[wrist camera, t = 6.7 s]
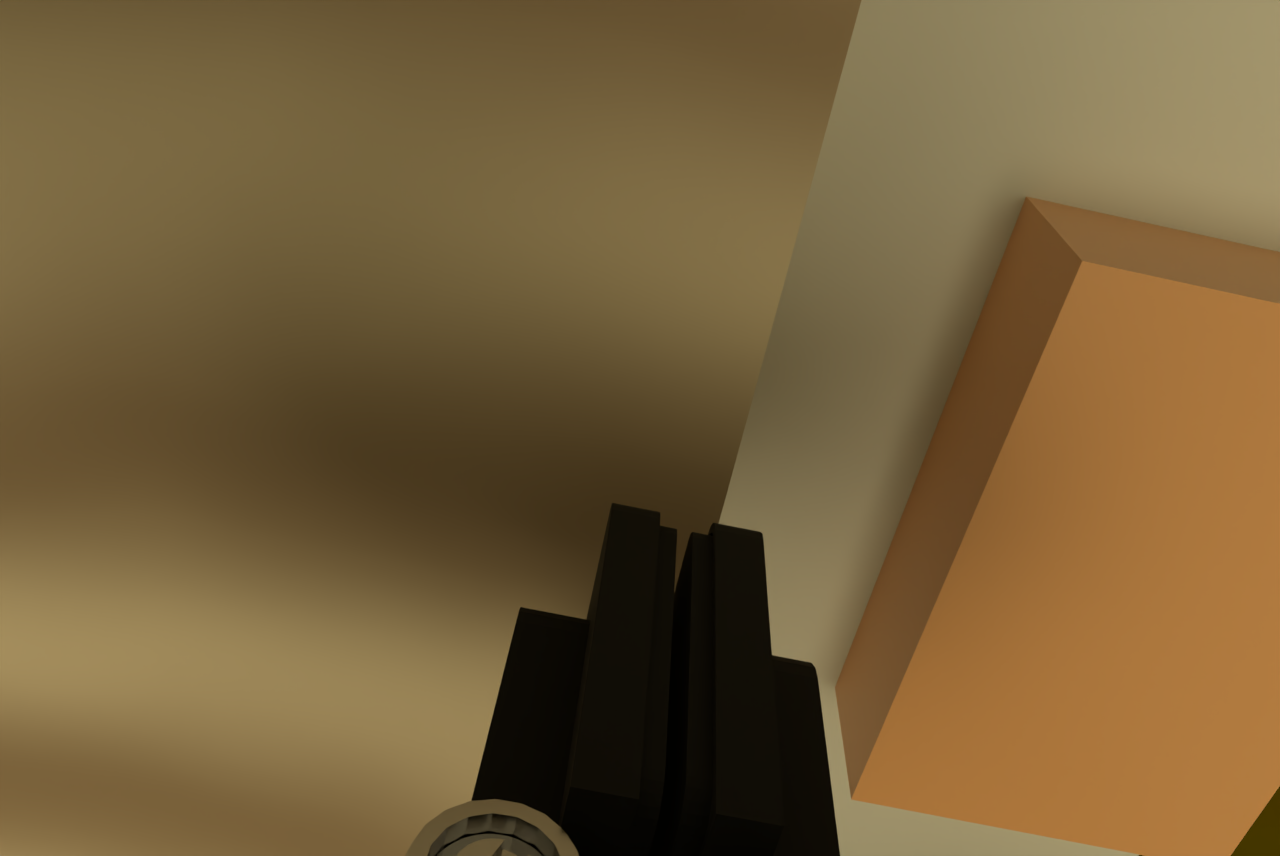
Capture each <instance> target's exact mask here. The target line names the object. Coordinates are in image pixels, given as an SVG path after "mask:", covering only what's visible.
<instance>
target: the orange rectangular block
mask: <svg viewBox="0 0 1280 856" xmlns="http://www.w3.org/2000/svg"><path fill="white" fill-rule="evenodd" d="M835 691H836V698H837V705H838V712H839V719H840V726H841V733H842V740H843V747H844V754H845V760H846V767H847V774H848V781H849V788H850V795H851V800H856V801H862V802H867V803H872V804H877V805H883V806H888V807H893V808H898V809H904V810H909V811H914V812H919V813H924V814H930V815H935V816H940V817H945V818H951V819H956V820H961V821H966V822H972V823H977V824H982V825H987V826H993V827H998V828H1003V829H1008V830H1014V831H1019V832H1024V833H1029V834H1034V835H1040V836H1045V837H1050V838H1055V839H1061V840H1066V841H1071V842H1076V843H1082V844H1087V845H1092V846H1097V847H1103V848H1108V849H1113V850H1118V851H1124V852H1129V853H1134V854H1139V855H1144V856H1230V855H1231V854H1232V853H1233V851H1234V850H1235V848H1236V847H1237V846H1238V844H1239V843H1240V841H1241V840H1242V838H1243V837H1244V836H1245V834H1246V833H1247V831H1248V830H1249V829H1250V827H1251V826H1252V824H1253V823H1254V821H1255V820H1256V819H1257V817H1258V816H1259V814H1260V813H1261V812H1262V810H1263V809H1264V807H1265V806H1266V804H1267V803H1268V802H1269V800H1270V799H1271V797H1272V796H1273V795H1274V793H1275V792H1276V790H1277V789H1278V787H1279V786H1280V252H1277V251H1273V250H1268V249H1264V248H1259V247H1254V246H1250V245H1245V244H1241V243H1236V242H1232V241H1227V240H1223V239H1218V238H1213V237H1209V236H1204V235H1200V234H1195V233H1191V232H1186V231H1182V230H1177V229H1172V228H1168V227H1163V226H1159V225H1154V224H1150V223H1145V222H1141V221H1136V220H1131V219H1127V218H1122V217H1118V216H1113V215H1109V214H1104V213H1100V212H1095V211H1090V210H1086V209H1081V208H1077V207H1072V206H1068V205H1063V204H1059V203H1054V202H1049V201H1045V200H1040V199H1036V198H1031V197H1027V196H1026V198H1025V201H1024V203H1023V206H1022V208H1021V211H1020V213H1019V216H1018V219H1017V221H1016V224H1015V226H1014V229H1013V231H1012V234H1011V237H1010V239H1009V242H1008V244H1007V247H1006V249H1005V252H1004V255H1003V257H1002V260H1001V262H1000V265H999V267H998V270H997V273H996V275H995V278H994V280H993V283H992V285H991V288H990V291H989V293H988V296H987V298H986V301H985V303H984V306H983V308H982V311H981V314H980V316H979V319H978V321H977V324H976V326H975V329H974V332H973V334H972V337H971V339H970V342H969V344H968V347H967V350H966V352H965V355H964V357H963V360H962V362H961V365H960V368H959V370H958V373H957V375H956V378H955V380H954V383H953V386H952V388H951V391H950V393H949V396H948V398H947V401H946V403H945V406H944V409H943V411H942V414H941V416H940V419H939V421H938V424H937V427H936V429H935V432H934V434H933V437H932V439H931V442H930V445H929V447H928V450H927V452H926V455H925V457H924V460H923V463H922V465H921V468H920V470H919V473H918V475H917V478H916V481H915V483H914V486H913V488H912V491H911V493H910V496H909V499H908V501H907V504H906V506H905V509H904V511H903V514H902V516H901V519H900V522H899V524H898V527H897V529H896V532H895V534H894V537H893V540H892V542H891V545H890V547H889V550H888V552H887V555H886V558H885V560H884V563H883V565H882V568H881V570H880V573H879V576H878V578H877V581H876V583H875V586H874V588H873V591H872V594H871V596H870V599H869V601H868V604H867V606H866V609H865V611H864V614H863V617H862V619H861V622H860V624H859V627H858V629H857V632H856V635H855V637H854V640H853V642H852V645H851V647H850V650H849V653H848V655H847V658H846V660H845V663H844V665H843V668H842V671H841V673H840V676H839V678H838V681H837V683H836V686H835Z"/></svg>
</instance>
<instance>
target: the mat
mask: <svg viewBox="0 0 1280 856" xmlns="http://www.w3.org/2000/svg"><path fill="white" fill-rule="evenodd" d="M1026 196H1027V197H1031V198H1036V199H1040V200H1045V201H1049V202H1054V203H1059V204H1063V205H1068V206H1072V207H1077V208H1081V209H1086V210H1090V211H1095V212H1100V213H1104V214H1109V215H1113V216H1118V217H1122V218H1127V219H1131V220H1136V221H1141V222H1145V223H1150V224H1154V225H1159V226H1163V227H1168V228H1172V229H1177V230H1182V231H1186V232H1191V233H1195V234H1200V235H1204V236H1209V237H1213V238H1218V239H1223V240H1227V241H1232V242H1236V243H1241V244H1245V245H1250V246H1254V247H1259V248H1264V249H1268V250H1273V251H1277V252H1280V0H861V4H860V8H859V11H858V15H857V19H856V22H855V26H854V30H853V33H852V37H851V41H850V44H849V48H848V51H847V55H846V59H845V62H844V66H843V70H842V73H841V77H840V81H839V84H838V88H837V92H836V95H835V99H834V103H833V106H832V110H831V114H830V117H829V121H828V125H827V128H826V132H825V136H824V139H823V143H822V147H821V150H820V154H819V158H818V161H817V165H816V169H815V172H814V176H813V180H812V183H811V187H810V191H809V194H808V198H807V202H806V205H805V209H804V213H803V216H802V220H801V224H800V227H799V231H798V235H797V238H796V242H795V246H794V249H793V253H792V257H791V260H790V264H789V268H788V271H787V275H786V278H785V282H784V286H783V289H782V293H781V297H780V300H779V304H778V308H777V311H776V315H775V319H774V322H773V326H772V330H771V333H770V337H769V341H768V344H767V348H766V352H765V355H764V359H763V363H762V366H761V370H760V374H759V377H758V381H757V385H756V388H755V392H754V396H753V399H752V403H751V407H750V410H749V414H748V418H747V421H746V425H745V429H744V432H743V436H742V440H741V443H740V447H739V451H738V454H737V458H736V462H735V465H734V469H733V473H732V476H731V480H730V484H729V487H728V491H727V495H726V498H725V502H724V506H723V509H722V513H721V516H720V520H719V524H723V525H728V526H733V527H738V528H743V529H748V530H754V531H759V532H761V533H762V534H763V540H764V553H765V567H766V581H767V595H768V608H769V622H770V636H771V650H772V655H774V656H779V657H784V658H790V659H795V660H800V661H805V662H810V663H812V664H813V665H814V666H815V668H816V672H817V677H818V683H819V691H820V699H821V707H822V715H823V723H824V731H825V739H826V747H827V755H828V763H829V771H830V779H831V787H832V795H833V803H834V811H835V819H836V827H837V835H838V843H839V851H840V856H1138V855H1139V854H1134V853H1129V852H1124V851H1118V850H1113V849H1108V848H1103V847H1097V846H1092V845H1087V844H1082V843H1076V842H1071V841H1066V840H1061V839H1055V838H1050V837H1045V836H1040V835H1034V834H1029V833H1024V832H1019V831H1014V830H1008V829H1003V828H998V827H993V826H987V825H982V824H977V823H972V822H966V821H961V820H956V819H951V818H945V817H940V816H935V815H930V814H924V813H919V812H914V811H909V810H904V809H898V808H893V807H888V806H883V805H877V804H872V803H867V802H862V801H856V800H851V795H850V788H849V781H848V774H847V767H846V760H845V754H844V747H843V740H842V733H841V726H840V719H839V712H838V705H837V698H836V691H835V686H836V683H837V681H838V678H839V676H840V673H841V671H842V668H843V665H844V663H845V660H846V658H847V655H848V653H849V650H850V647H851V645H852V642H853V640H854V637H855V635H856V632H857V629H858V627H859V624H860V622H861V619H862V617H863V614H864V611H865V609H866V606H867V604H868V601H869V599H870V596H871V594H872V591H873V588H874V586H875V583H876V581H877V578H878V576H879V573H880V570H881V568H882V565H883V563H884V560H885V558H886V555H887V552H888V550H889V547H890V545H891V542H892V540H893V537H894V534H895V532H896V529H897V527H898V524H899V522H900V519H901V516H902V514H903V511H904V509H905V506H906V504H907V501H908V499H909V496H910V493H911V491H912V488H913V486H914V483H915V481H916V478H917V475H918V473H919V470H920V468H921V465H922V463H923V460H924V457H925V455H926V452H927V450H928V447H929V445H930V442H931V439H932V437H933V434H934V432H935V429H936V427H937V424H938V421H939V419H940V416H941V414H942V411H943V409H944V406H945V403H946V401H947V398H948V396H949V393H950V391H951V388H952V386H953V383H954V380H955V378H956V375H957V373H958V370H959V368H960V365H961V362H962V360H963V357H964V355H965V352H966V350H967V347H968V344H969V342H970V339H971V337H972V334H973V332H974V329H975V326H976V324H977V321H978V319H979V316H980V314H981V311H982V308H983V306H984V303H985V301H986V298H987V296H988V293H989V291H990V288H991V285H992V283H993V280H994V278H995V275H996V273H997V270H998V267H999V265H1000V262H1001V260H1002V257H1003V255H1004V252H1005V249H1006V247H1007V244H1008V242H1009V239H1010V237H1011V234H1012V231H1013V229H1014V226H1015V224H1016V221H1017V219H1018V216H1019V213H1020V211H1021V208H1022V206H1023V203H1024V201H1025V198H1026Z"/></svg>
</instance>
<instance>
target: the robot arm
mask: <svg viewBox="0 0 1280 856" xmlns="http://www.w3.org/2000/svg"><path fill="white" fill-rule="evenodd" d="M676 547H677V529H675V528H670V527H665V526H660V512H657V511H652V510H647V509H642V508H636V507H631V506H626V505H621V504H616V503H612V505H611V508H610V513H609V517H608V522H607V526H606V531H605V535H604V540H603V545H602V549H601V554H600V558H599V563H598V568H597V572H596V577H595V582H594V586H593V591H592V595H591V600H590V605H589V609H588V614H587V618H586V619H581V618H576V617H570V616H565V615H560V614H555V613H549V612H544V611H539V610H534V609H529V608H523V607H520V609H519V613H518V616H517V620H516V624H515V628H514V632H513V636H512V640H511V644H510V648H509V652H508V656H507V660H506V664H505V668H504V672H503V676H502V680H501V684H500V688H499V692H498V696H497V700H496V704H495V708H494V712H493V716H492V720H491V724H490V728H489V732H488V736H487V740H486V744H485V748H484V752H483V756H482V760H481V764H480V768H479V772H478V776H477V780H476V784H475V788H474V792H473V796H472V800H471V801H469V802H466V803H463V804H460V805H458V806H455V807H452V808H449V809H446V810H445V811H443V812H442V813H441V814H439V815H438V816H436V817H435V818H434V819H432V820H431V821H429V822H428V823H427V824H425V826H424V827H423V828H422V830H421V831H420V833H419V834H418V835H417V837H416V838H415V839H414V841H413V842H412V843H411V845H410V847H409V849H408V851H407V853H406V855H405V856H840V851H839V843H838V835H837V827H836V819H835V811H834V803H833V795H832V787H831V779H830V771H829V763H828V755H827V747H826V739H825V731H824V723H823V715H822V707H821V699H820V691H819V683H818V677H817V672H816V668H815V666H814V665H813V664H812V663H810V662H805V661H800V660H795V659H790V658H784V657H779V656H774V655H772V650H771V636H770V622H769V608H768V595H767V581H766V567H765V553H764V540H763V534H762V533H761V532H759V531H754V530H748V529H743V528H738V527H733V526H728V525H723V524H718V523H713V524H712V525H711V527H710V529H709V532H708V535H706V534H701V533H696V532H692V533H691V534H690V537H689V540H688V543H687V547H686V551H685V554H684V558H683V562H682V566H681V570H680V573H679V577H678V581H677V585H676V588H675V592H674V586H675V567H676Z"/></svg>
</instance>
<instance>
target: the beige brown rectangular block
mask: <svg viewBox="0 0 1280 856" xmlns="http://www.w3.org/2000/svg"><path fill="white" fill-rule="evenodd" d="M860 4H861V0H0V856H405V855H406V853H407V851H408V849H409V847H410V845H411V843H412V842H413V841H414V839H415V838H416V837H417V835H418V834H419V833H420V831H421V830H422V828H423V827H424V826H425V824H427V823H428V822H429V821H431V820H432V819H434V818H435V817H436V816H438V815H439V814H441V813H442V812H443V811H445V810H446V809H449V808H452V807H455V806H458V805H460V804H463V803H466V802H469V801H471V800H472V796H473V792H474V788H475V784H476V780H477V776H478V772H479V768H480V764H481V760H482V756H483V752H484V748H485V744H486V740H487V736H488V732H489V728H490V724H491V720H492V716H493V712H494V708H495V704H496V700H497V696H498V692H499V688H500V684H501V680H502V676H503V672H504V668H505V664H506V660H507V656H508V652H509V648H510V644H511V640H512V636H513V632H514V628H515V624H516V620H517V616H518V613H519V609H520V607H523V608H529V609H534V610H539V611H544V612H549V613H555V614H560V615H565V616H570V617H576V618H581V619H586V618H587V614H588V609H589V605H590V600H591V595H592V591H593V586H594V582H595V577H596V572H597V568H598V563H599V558H600V554H601V549H602V545H603V540H604V535H605V531H606V526H607V522H608V517H609V513H610V508H611V505H612V503H616V504H621V505H626V506H631V507H636V508H642V509H647V510H652V511H657V512H660V526H665V527H670V528H675V529H677V547H676V567H675V586H674V592H675V588H676V585H677V581H678V577H679V573H680V570H681V566H682V562H683V558H684V554H685V551H686V547H687V543H688V540H689V537H690V534H691V533H692V532H696V533H701V534H706V535H708V532H709V529H710V527H711V525H712V524H713V523H718V524H719V520H720V516H721V513H722V509H723V506H724V502H725V498H726V495H727V491H728V487H729V484H730V480H731V476H732V473H733V469H734V465H735V462H736V458H737V454H738V451H739V447H740V443H741V440H742V436H743V432H744V429H745V425H746V421H747V418H748V414H749V410H750V407H751V403H752V399H753V396H754V392H755V388H756V385H757V381H758V377H759V374H760V370H761V366H762V363H763V359H764V355H765V352H766V348H767V344H768V341H769V337H770V333H771V330H772V326H773V322H774V319H775V315H776V311H777V308H778V304H779V300H780V297H781V293H782V289H783V286H784V282H785V278H786V275H787V271H788V268H789V264H790V260H791V257H792V253H793V249H794V246H795V242H796V238H797V235H798V231H799V227H800V224H801V220H802V216H803V213H804V209H805V205H806V202H807V198H808V194H809V191H810V187H811V183H812V180H813V176H814V172H815V169H816V165H817V161H818V158H819V154H820V150H821V147H822V143H823V139H824V136H825V132H826V128H827V125H828V121H829V117H830V114H831V110H832V106H833V103H834V99H835V95H836V92H837V88H838V84H839V81H840V77H841V73H842V70H843V66H844V62H845V59H846V55H847V51H848V48H849V44H850V41H851V37H852V33H853V30H854V26H855V22H856V19H857V15H858V11H859V8H860Z"/></svg>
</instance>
